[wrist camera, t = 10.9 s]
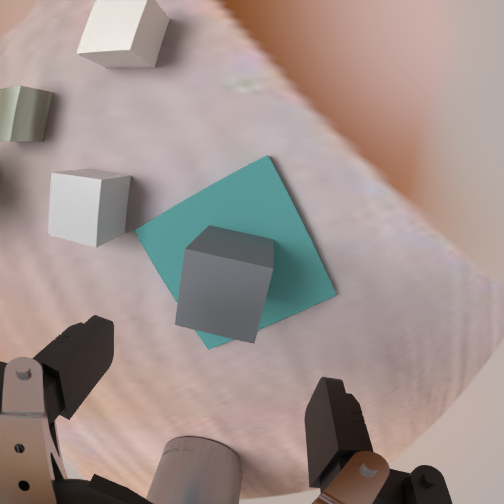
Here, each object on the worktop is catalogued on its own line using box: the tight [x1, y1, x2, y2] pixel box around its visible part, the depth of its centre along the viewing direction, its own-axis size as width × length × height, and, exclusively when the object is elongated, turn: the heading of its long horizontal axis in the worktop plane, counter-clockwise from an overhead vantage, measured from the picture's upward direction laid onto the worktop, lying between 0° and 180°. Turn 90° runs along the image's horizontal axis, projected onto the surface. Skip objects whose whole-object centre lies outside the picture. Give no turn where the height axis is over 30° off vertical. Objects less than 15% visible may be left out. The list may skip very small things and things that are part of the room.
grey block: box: [48, 169, 131, 247], centre depth 20 cm, size 4×4×4 cm
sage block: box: [0, 86, 53, 141], centre depth 18 cm, size 4×4×4 cm
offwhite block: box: [76, 0, 170, 68], centre depth 16 cm, size 4×4×4 cm
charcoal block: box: [175, 225, 274, 343], centre depth 19 cm, size 4×4×6 cm
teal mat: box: [135, 155, 337, 350], centre depth 22 cm, size 11×11×1 cm
